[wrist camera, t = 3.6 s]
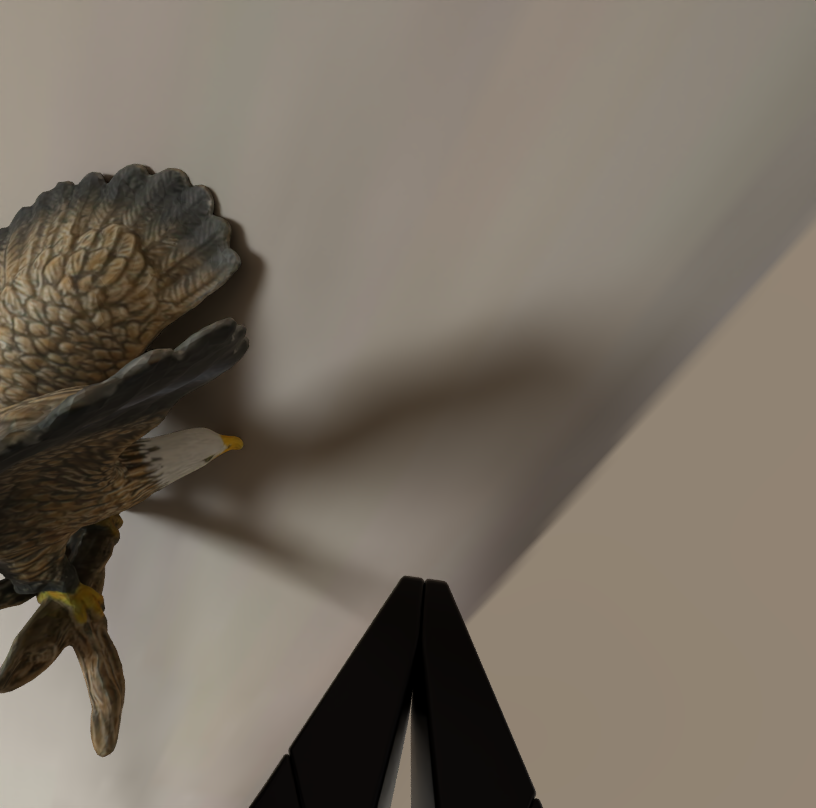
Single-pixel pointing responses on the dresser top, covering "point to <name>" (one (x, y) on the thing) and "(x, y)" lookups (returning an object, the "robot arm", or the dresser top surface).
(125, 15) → the dresser top surface
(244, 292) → the dresser top surface
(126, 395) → the eagle figurine
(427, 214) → the dresser top surface
